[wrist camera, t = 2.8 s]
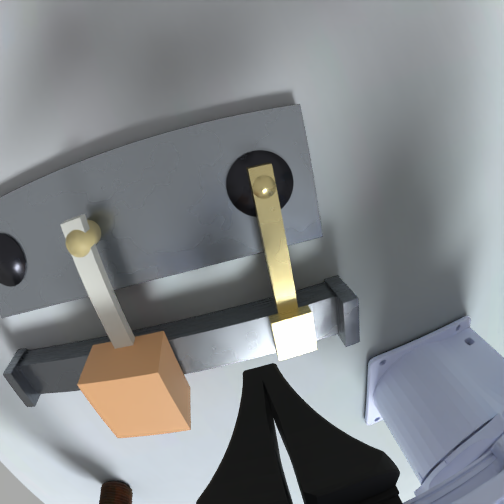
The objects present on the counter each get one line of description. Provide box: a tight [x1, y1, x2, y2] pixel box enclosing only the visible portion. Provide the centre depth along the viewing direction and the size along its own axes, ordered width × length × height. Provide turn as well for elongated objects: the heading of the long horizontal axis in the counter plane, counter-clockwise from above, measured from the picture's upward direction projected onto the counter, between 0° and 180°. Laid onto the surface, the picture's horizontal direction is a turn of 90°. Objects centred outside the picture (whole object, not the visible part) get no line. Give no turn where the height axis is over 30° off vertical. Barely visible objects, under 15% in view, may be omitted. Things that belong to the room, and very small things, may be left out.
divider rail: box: [3, 162, 360, 407], centre depth 14 cm, size 21×10×3 cm, turn 102°
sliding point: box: [60, 214, 191, 438], centre depth 13 cm, size 4×10×4 cm, turn 12°
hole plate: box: [0, 104, 323, 318], centre depth 14 cm, size 19×6×1 cm, turn 102°
